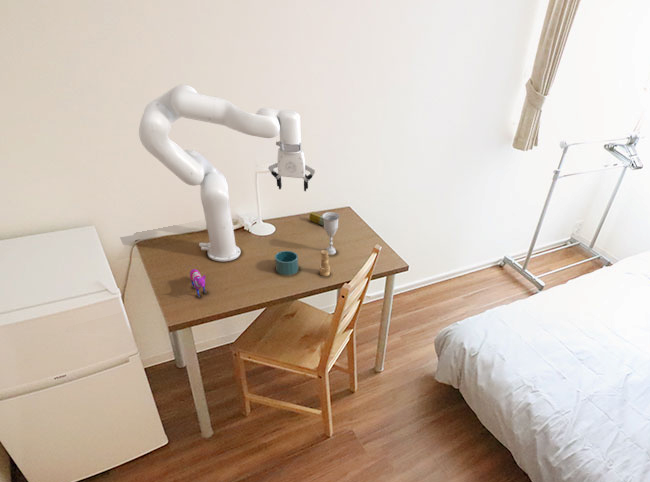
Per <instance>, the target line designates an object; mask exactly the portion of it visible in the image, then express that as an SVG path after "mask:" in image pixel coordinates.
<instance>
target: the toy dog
mask: <svg viewBox="0 0 650 482" xmlns="http://www.w3.org/2000/svg"><path fill="white" fill-rule="evenodd" d="M206 276H207V275H206V274H203V276H202V275H201V272H200V271H199V270H198V269H196V268H193V269H191V270H190V272H189V277H190V282H191V285H192V288H193V289H194V290H196V293H197V298H199V299H200V298H201V296H200V290H199V289H200V288H202V291H203V294H204V295H207V291H206V289H205V287H206Z"/></svg>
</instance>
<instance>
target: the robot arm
mask: <svg viewBox="0 0 650 482" xmlns="http://www.w3.org/2000/svg"><path fill="white" fill-rule="evenodd" d="M181 118H184V119H189V120H193V121H199V122H205V123H209V124H215V125H220V126H224V127H227V128H229V129H231V130H233V131H237V132H239V133H241V134H245V135H248V136H252V137H258V138H263V139H273V138H275V137H277V136H278V135H279V141H276V142H275V146H278V147H279V148H278V150H277V162H275V163H273V164H271V165H269V166H268V170H269V172H270V174H271V176H273V177H274V178H275V180H276V187H278V190H282V185H283V184H282V177H283V178H294V179H303V192H307V190H308V189H309V181H311V179H312V178H313V176H314V175H315V173H316V170H315V169H313V168H312V167H310V166H308V165H306V159H305V153H304V149H302V133H301V132H302V130H301V129H302V128H301V115H300V114H299V112H297V111H295V110H291V109H284V110H283V109H282V110H281V109H277V108H272V107H261V108H259V109H258V110H257V111H256V113H253V112H249V111H246V110H243V109H241V108H239V107H238V106H236V105H235V104H233V103H232V102H231V101H229V100H227V99H225V98H223V97H217V96H212V95H208V94H203V93H199V92H198V91H197V90H196V88H194V87H193V86H191V85H188V84H178V85H176V86H174V87H172V88H170V89H169V90H167V91H166V92H164V93H163V94H161V95H160V96H158V97H156V98H155V99H153V100H152V101H150V102H149V103H148V104H147V105H146V106H145V108H144V110H143V113H142V116H141V119H140V121H139V127H138V136H139V140H140V143H141V145H142V146H143V148H144V149H145V150H146V151H147V152H148V153H149V154H150V155H152V156H153V157H154V158H155V159H156V160H158V161H159V162H160V163H161V164H162V165H163V166H164V167H166V168H167V169H168V170H169V171H170V172H171V173H172V174H174V176H176V177H177V178H178V179H179V180H181V181H182V182H183V183H184V184H187V185H188V186H198V185H199V186H200V191H199V193H200V201H201V205H202V208H203V214H204V219H205V224H206V229H207V236H208V241H209V242H199V244H198V245H199V248H200V249H201V251H207V257H208V258H209V259H211V260H213V261H214V262H215V261H216V262H223V263H225V262H231V261H235V260H236V259H238V258H239V257H240V256H241V253H242V252H241V248H240V247H239V246H237V243H236V238H235V231H234V230H235V229H234V223H233V216H232V210H231V203H230V193H229V184H228V180H227V179H226V176H225V175H224V174H223V173H222V172H221V171H220V170H219V169H218V168H216V166H215V165H213V164H212V163H211V162H210V161H209V160H208V159H207V158H206V157H205V156H204V155H202V154H201V153H200V152H198V151H196V150H193V149H183V148H182V147H181V146H180V145H179V144H177V143H176V142H175V141H173V140H172V139H170V137H169V136H170V132H171V130H172V125H173V123H174V122H176V121H177V120H179V119H181ZM276 168H277V172H276V171H275V169H276ZM306 172H308V173H309V174H308V175H307V173H306Z"/></svg>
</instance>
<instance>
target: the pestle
mask: <svg viewBox="0 0 650 482" xmlns="http://www.w3.org/2000/svg"><path fill="white" fill-rule="evenodd" d="M320 257H321V258H320V265H319V275H320V276H321V277H328V276H330V274H331V266H330V265H329V254H328V251H327V250H326V249H321V251H320Z"/></svg>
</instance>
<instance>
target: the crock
mask: <svg viewBox="0 0 650 482" xmlns="http://www.w3.org/2000/svg"><path fill="white" fill-rule="evenodd" d="M274 255H275V256H274V264H275V272H277V273H278V274H280V275H284V276H291V275H295V274H297V273H298V272H299V255H298V254H297V253H296V252H295V251H292V250H282V251H278V252H276V254H274Z"/></svg>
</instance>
